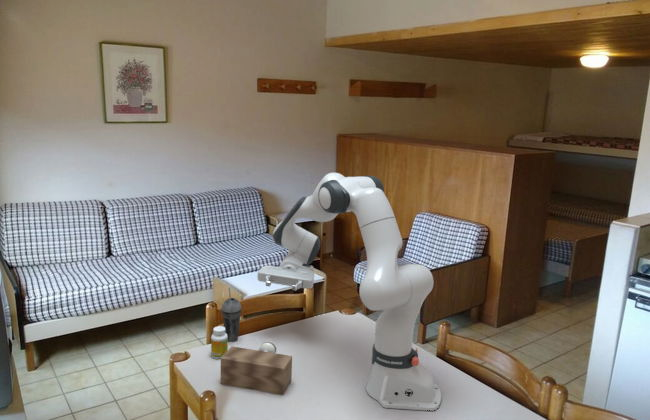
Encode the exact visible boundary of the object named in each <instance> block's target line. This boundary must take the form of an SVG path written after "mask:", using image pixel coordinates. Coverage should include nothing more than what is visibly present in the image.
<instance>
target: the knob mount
mask: <svg viewBox="0 0 650 420" xmlns="http://www.w3.org/2000/svg"><path fill="white" fill-rule="evenodd" d="M292 369H293V355H288V354H281V353H277V352H276V353H270V352H264V351H259V349H258V350H257V349H252V348H251V349H250V348H245V347H244V348H243V347H239V346H234V345H233V346H230V347H229V349H228V351H227V352H226V353H225V354H224V355H223V356H222V357H221V359H220V385H225V386H230V387H236V388H240V389H242V388H243V389H248V390H253V391H258V392H263V393H269V394H275V395H280V396H284V395H285V393H286V391H287V389H288V388H289V386H290V384H291V383H292V379H293V378H292V374H293V373H292V372H293V370H292Z"/></svg>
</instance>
